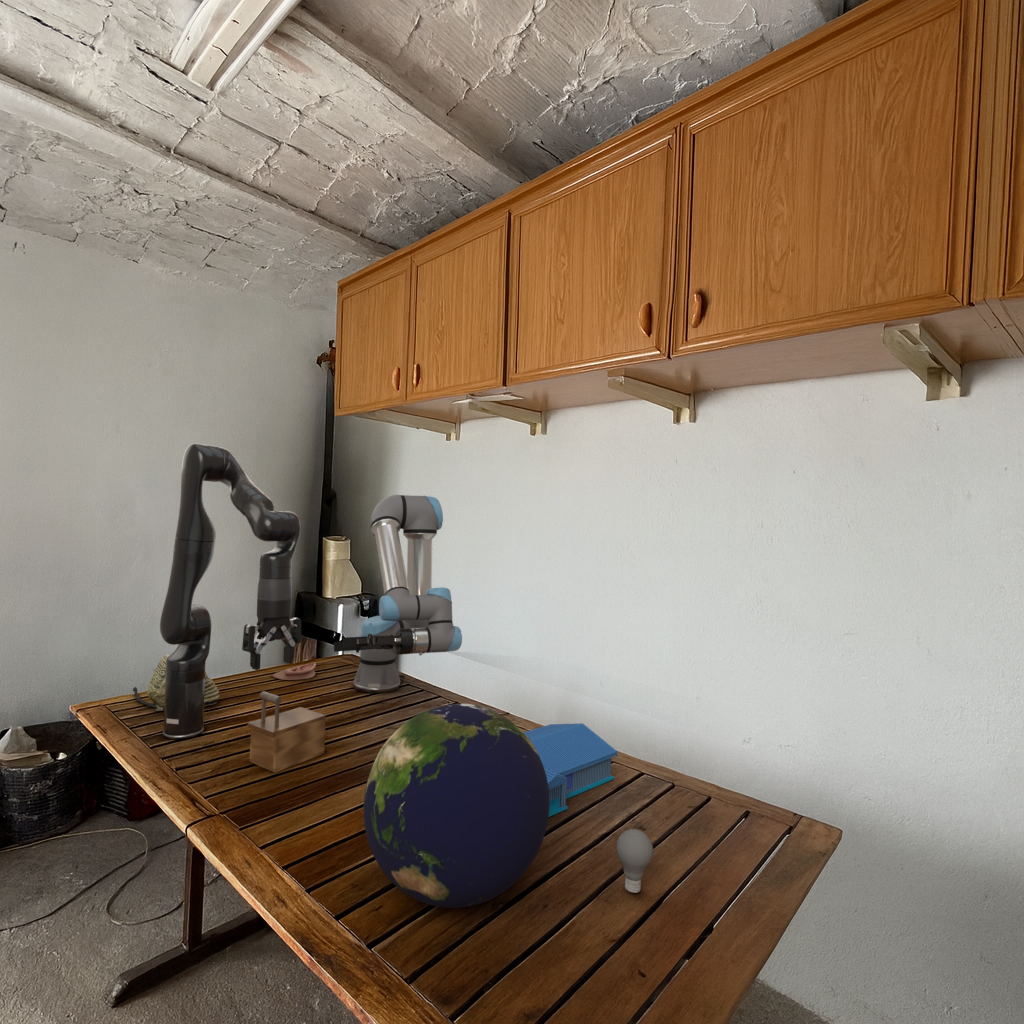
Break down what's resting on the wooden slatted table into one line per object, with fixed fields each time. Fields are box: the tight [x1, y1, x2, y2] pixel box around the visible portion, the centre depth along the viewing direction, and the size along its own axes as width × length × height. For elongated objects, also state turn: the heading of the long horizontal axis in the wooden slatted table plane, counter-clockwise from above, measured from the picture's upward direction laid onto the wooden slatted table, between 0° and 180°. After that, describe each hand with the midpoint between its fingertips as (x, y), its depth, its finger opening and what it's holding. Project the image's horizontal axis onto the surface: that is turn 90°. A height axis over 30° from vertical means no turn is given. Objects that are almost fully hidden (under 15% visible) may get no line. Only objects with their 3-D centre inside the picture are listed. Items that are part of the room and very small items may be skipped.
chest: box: [249, 719, 326, 773], centre depth 153 cm, size 14×10×9 cm
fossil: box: [147, 654, 221, 712], centre depth 185 cm, size 9×18×15 cm, turn 132°
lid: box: [247, 690, 327, 736], centre depth 152 cm, size 15×10×8 cm, turn 147°
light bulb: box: [615, 828, 654, 894], centre depth 106 cm, size 6×6×10 cm
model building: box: [523, 722, 618, 818], centre depth 142 cm, size 39×24×10 cm, turn 132°
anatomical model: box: [272, 662, 317, 681], centre depth 220 cm, size 13×4×12 cm
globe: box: [363, 703, 550, 909], centre depth 103 cm, size 30×30×30 cm
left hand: (272, 665), depth 148 cm, fingers open, 8 cm apart
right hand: (338, 644), depth 180 cm, fingers open, 13 cm apart
